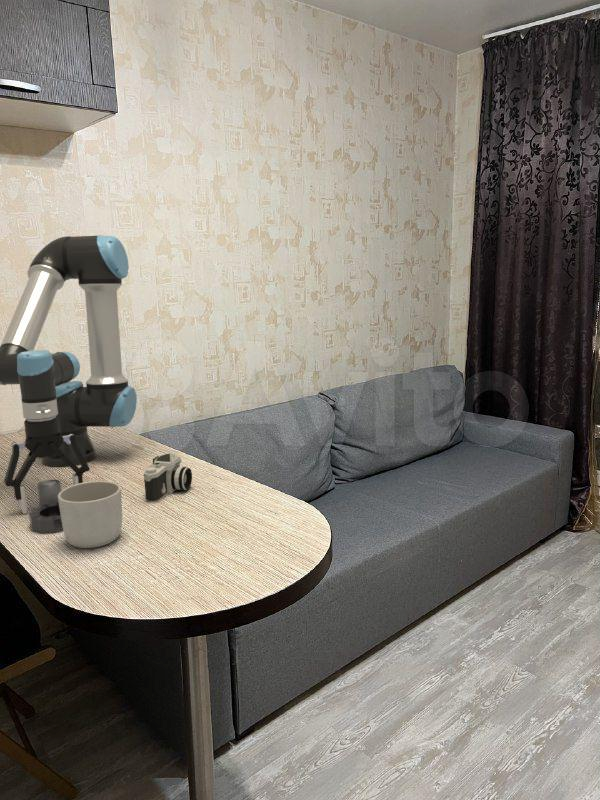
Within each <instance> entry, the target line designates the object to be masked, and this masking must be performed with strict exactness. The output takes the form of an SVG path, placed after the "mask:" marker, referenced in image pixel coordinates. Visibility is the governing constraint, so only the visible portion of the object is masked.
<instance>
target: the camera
mask: <svg viewBox="0 0 600 800" xmlns="http://www.w3.org/2000/svg"><path fill="white" fill-rule="evenodd" d="M181 463H182V457H181V456H180V455H177V454H175V452H169V453H166V454H163V455H162V454H160V455H156V457H154V458H153V459H152V464H150V465H148V466H147V467H146V468H145V469H144V472H143V482H144V492H145V493H144V494H145V497H144V498H145V501H146V502H147V503H158V502H160V501H161V500H162V499H163V498H165V497H166V496H167V495H171V494H173V493H175V491H176V490H179V491H180V490H181V491H187V490H189V489H190V487H191V485H192V482H193V481H192V480H193V472H192V469H191V468H190V467H189V466H181Z"/></svg>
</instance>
